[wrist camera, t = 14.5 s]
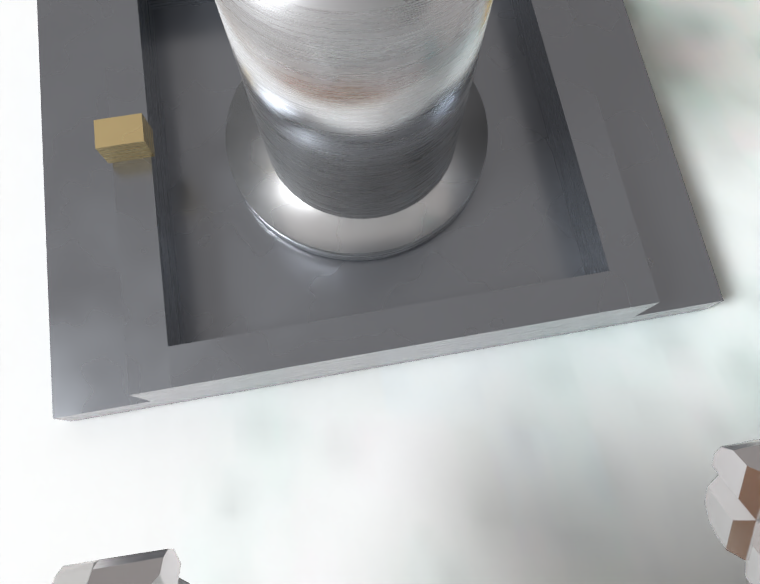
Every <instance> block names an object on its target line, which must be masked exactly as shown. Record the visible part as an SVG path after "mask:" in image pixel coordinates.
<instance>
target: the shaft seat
mask: <svg viewBox="0 0 760 584" xmlns="http://www.w3.org/2000/svg"><path fill="white" fill-rule="evenodd" d="M37 9H38V36H39V62H40V88H41V114H42V141H43V167H44V193H45V220H46V246H47V272H48V298H49V325H50V351H51V377H52V403H53V419H59V420H67V421H75V420H81V419H87V418H92V417H98V416H104V415H109V414H115V413H121V412H126V411H132V410H138V409H143V408H149V407H155V406H160V405H166V404H172V403H177V402H183V401H189V400H194V399H200V398H206V397H211V396H217V395H223V394H228V393H234V392H240V391H245V390H251V389H257V388H262V387H268V386H274V385H279V384H285V383H291V382H296V381H302V380H308V379H313V378H319V377H325V376H330V375H336V374H342V373H347V372H353V371H359V370H364V369H370V368H376V367H381V366H387V365H393V364H398V363H404V362H410V361H415V360H421V359H427V358H432V357H438V356H444V355H449V354H455V353H461V352H466V351H472V350H478V349H483V348H489V347H495V346H500V345H506V344H512V343H517V342H523V341H529V340H534V339H540V338H546V337H551V336H557V335H563V334H568V333H574V332H580V331H585V330H591V329H597V328H602V327H608V326H614V325H619V324H625V323H631V322H636V321H642V320H648V319H653V318H659V317H665V316H670V315H676V314H682V313H687V312H693V311H699V310H704V309H707V308H709V307H711V306H713V305H715V304H717V303H719V302H722V301H723V298H722V295H721V292H720V289H719V286H718V283H717V280H716V277H715V274H714V271H713V268H712V265H711V262H710V259H709V256H708V253H707V250H706V247H705V244H704V241H703V238H702V235H701V232H700V229H699V226H698V223H697V220H696V217H695V214H694V211H693V208H692V205H691V202H690V199H689V196H688V193H687V190H686V188H685V185H684V182H683V179H682V176H681V173H680V170H679V167H678V164H677V161H676V158H675V155H674V152H673V149H672V146H671V143H670V140H669V137H668V134H667V131H666V128H665V125H664V122H663V119H662V116H661V113H660V110H659V107H658V104H657V101H656V98H655V95H654V92H653V89H652V86H651V83H650V80H649V77H648V74H647V71H646V68H645V66H644V63H643V60H642V57H641V54H640V51H639V48H638V45H637V42H636V39H635V36H634V33H633V30H632V27H631V24H630V21H629V18H628V15H627V12H626V9H625V6H624V3H623V0H493V2H492V6H491V10H490V14H489V18H488V22H487V26H486V30H485V34H484V38H483V42H482V45H481V49H480V53H479V57H478V61H477V65H476V69H475V73H474V77H473V81H472V85H471V89H470V93H469V96H468V100H467V104H466V108H465V112H464V116H463V120H462V124H461V128H460V132H459V136H458V140H457V144H456V147H455V151H454V155H453V158H452V161H451V163H450V165H449V168H448V170H447V172H446V173H445V175H444V176H443V178H442V179H441V181H440V182H439V183H438V184H437V186H436V187H435V188H434V189H433V190H432V191H431V192H430V193H429V194H428V195H426V196H425V197H424V198H423V199H421V200H420V201H418V202H417V203H415V204H414V205H412V206H410V207H408V208H406V209H404V210H402V211H400V212H397V213H394V214H391V215H387V216H383V217H378V218H369V219H351V218H344V217H338V216H334V215H330V214H327V213H324V212H322V211H319V210H317V209H315V208H313V207H311V206H309V205H308V204H306V203H304V202H303V201H301V200H300V199H299V198H297V197H296V196H295V195H294V194H293V193H292V192H291V191H290V190H289V189H288V188H287V187H286V186H285V185H284V184H283V183H282V181H281V180H280V179H279V177H278V176H277V174H276V172H275V170H274V168H273V167H272V164H271V162H270V159H269V156H268V153H267V150H266V148H265V145H264V142H263V139H262V136H261V133H260V130H259V127H258V124H257V121H256V118H255V116H254V113H253V110H252V107H251V104H250V101H249V98H248V95H247V92H246V89H245V86H244V84H243V81H242V78H241V75H240V72H239V69H238V66H237V63H236V60H235V57H234V54H233V52H232V49H231V46H230V43H229V40H228V37H227V34H226V31H225V28H224V25H223V22H222V20H221V17H220V14H219V11H218V8H217V5H216V2H215V0H37Z"/></svg>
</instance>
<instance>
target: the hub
mask: <svg viewBox="0 0 760 584" xmlns="http://www.w3.org/2000/svg"><path fill="white" fill-rule="evenodd" d="M215 2H216V5H217V8H218V11H219V14H220V17H221V20H222V22H223V25H224V28H225V31H226V34H227V37H228V40H229V43H230V46H231V49H232V52H233V54H234V57H235V60H236V63H237V66H238V69H239V72H240V75H241V78H242V81H243V84H244V86H245V89H246V92H247V95H248V98H249V101H250V104H251V107H252V110H253V113H254V116H255V118H256V121H257V124H258V127H259V130H260V133H261V136H262V139H263V142H264V145H265V148H266V150H267V153H268V156H269V159H270V162H271V164H272V167H273V168H274V170H275V172H276V174H277V176H278V177H279V179H280V180H281V181H282V183H283V184H284V185H285V186H286V187H287V188H288V189H289V190H290V191H291V192H292V193H293V194H294V195H295V196H296V197H297V198H299V199H300V200H301V201H303V202H304V203H306V204H308V205H309V206H311V207H313V208H315V209H317V210H319V211H322V212H324V213H327V214H330V215H334V216H338V217H344V218H351V219H369V218H378V217H383V216H387V215H391V214H394V213H397V212H400V211H402V210H404V209H406V208H408V207H410V206H412V205H414V204H415V203H417V202H418V201H420V200H421V199H423V198H424V197H425V196H426V195H428V194H429V193H430V192H431V191H432V190H433V189H434V188H435V187H436V186H437V184H438V183H439V182H440V181H441V179H442V178H443V176H444V175H445V173H446V172H447V170H448V168H449V165H450V163H451V161H452V158H453V155H454V151H455V147H456V144H457V140H458V136H459V132H460V128H461V124H462V120H463V116H464V112H465V108H466V104H467V100H468V96H469V93H470V89H471V85H472V81H473V77H474V73H475V69H476V65H477V61H478V57H479V53H480V49H481V45H482V42H483V38H484V34H485V30H486V26H487V22H488V18H489V14H490V10H491V6H492V2H493V0H215Z"/></svg>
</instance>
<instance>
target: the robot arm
mask: <svg viewBox="0 0 760 584" xmlns="http://www.w3.org/2000/svg"><path fill="white" fill-rule="evenodd" d="M712 467H713V468H714V469H715V470H716V472H717V473H718V474H719V475H718V476H717V477H716V478H715V479H714V480H713V481H712V482H711V483H710V484H709V485H708V486H707V491H706V497H705V506H706V511H707V515H708V520H709V522H710V524H711V526H712V529H713V531H714V533H715V535H716V536H717V538H718V539H719V540H720V542H721V543H722V545H723V546H724V548H725V549H726V550H728V551H729V552H731V553H733V554H735V555H736V556H738V557H740V558H742V559H743V560H745V577H746V578H747V579H748V581H749V582H750V583H751V584H760V439H757V440H752V441H747V442H742V443H737V444H732V445H727V446H722V447H720V448H719V449H718V450H717V451H716V452H715V453H714V458H713V462H712ZM180 567H181V562H180V560H179V558H178V556H177V554H176V552H175V550H174V549H165V550H158V551H152V552H146V553H139V554H133V555H126V556H120V557H114V558H107V559H101V560H96V561H90V562H84V563H78V564H72V565H66V566H63V567H62V568H61V570H60V571H59V572H58V573H57V574H56V576H55V577H54V579H53V582H52V584H190V583H188V582H186V581H184V580H182V579H181V578H179V573H180Z"/></svg>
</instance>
